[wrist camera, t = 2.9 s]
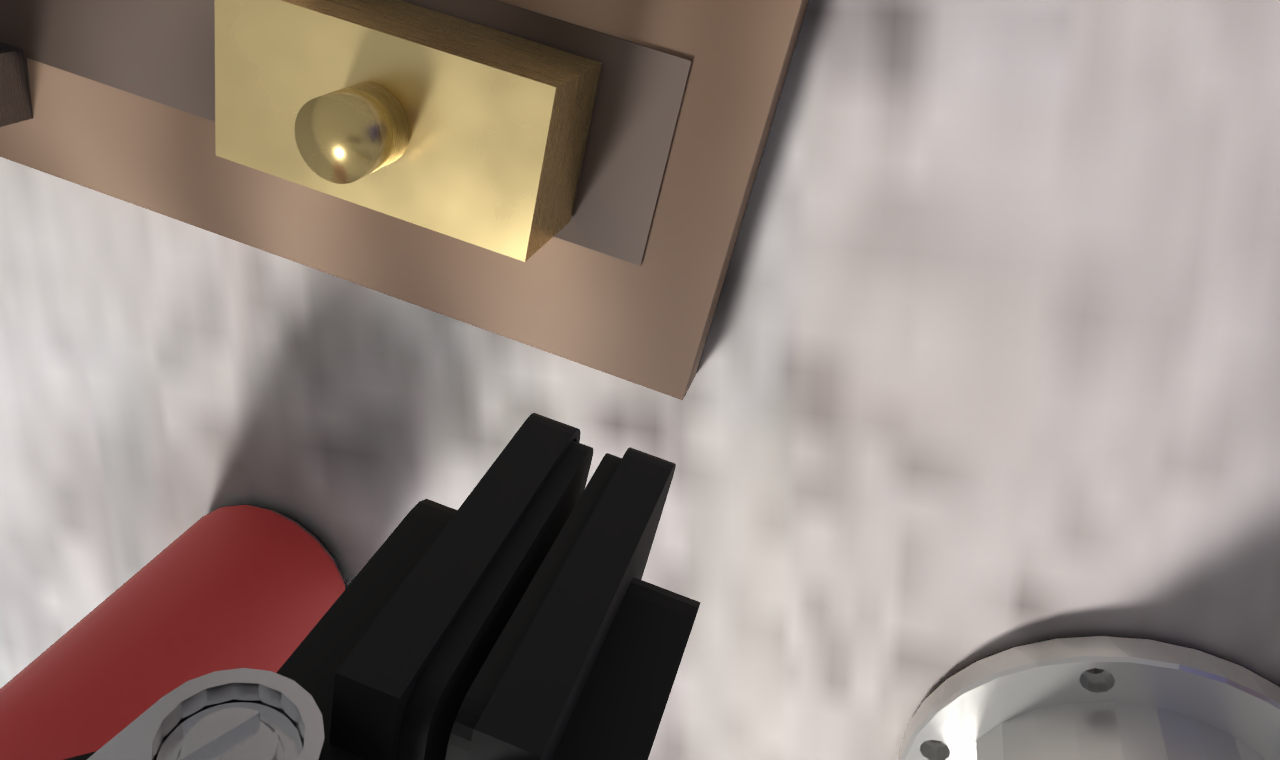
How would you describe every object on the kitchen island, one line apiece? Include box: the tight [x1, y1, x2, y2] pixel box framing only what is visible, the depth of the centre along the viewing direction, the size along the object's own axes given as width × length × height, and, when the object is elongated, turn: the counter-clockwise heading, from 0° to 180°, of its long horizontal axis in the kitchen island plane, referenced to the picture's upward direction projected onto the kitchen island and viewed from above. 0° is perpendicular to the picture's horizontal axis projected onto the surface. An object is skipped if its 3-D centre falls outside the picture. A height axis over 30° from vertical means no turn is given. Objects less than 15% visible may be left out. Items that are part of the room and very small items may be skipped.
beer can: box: [0, 505, 345, 760], centre depth 31 cm, size 7×7×12 cm
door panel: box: [0, 0, 809, 400], centre depth 25 cm, size 28×12×2 cm, turn 77°
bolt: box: [214, 0, 602, 262], centre depth 22 cm, size 8×4×5 cm, turn 77°
